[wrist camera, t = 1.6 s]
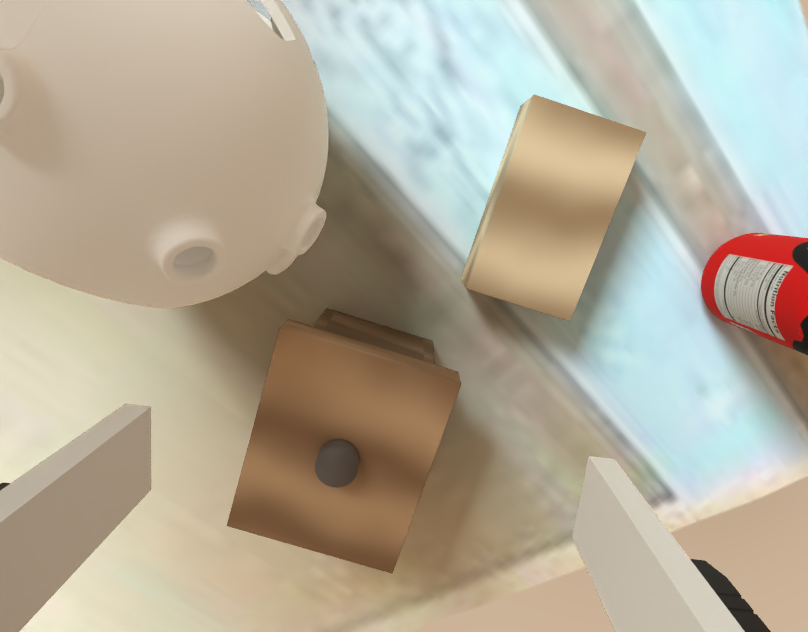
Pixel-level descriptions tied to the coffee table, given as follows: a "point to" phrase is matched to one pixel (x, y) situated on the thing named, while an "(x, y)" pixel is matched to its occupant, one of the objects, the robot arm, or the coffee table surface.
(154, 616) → the coffee table surface
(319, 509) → the lid
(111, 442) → the robot arm
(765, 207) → the coffee table surface
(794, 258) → the beverage can
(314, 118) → the decorative ball
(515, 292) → the light wooden block
